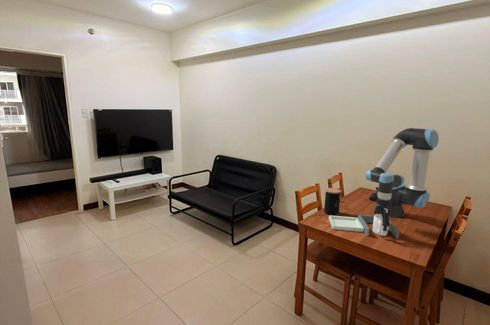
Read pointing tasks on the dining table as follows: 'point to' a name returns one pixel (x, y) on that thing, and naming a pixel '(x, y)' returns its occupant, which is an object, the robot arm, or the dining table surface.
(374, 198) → the camera
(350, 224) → the tray
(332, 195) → the coffee jar
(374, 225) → the mug
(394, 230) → the bay
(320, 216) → the dining table surface
